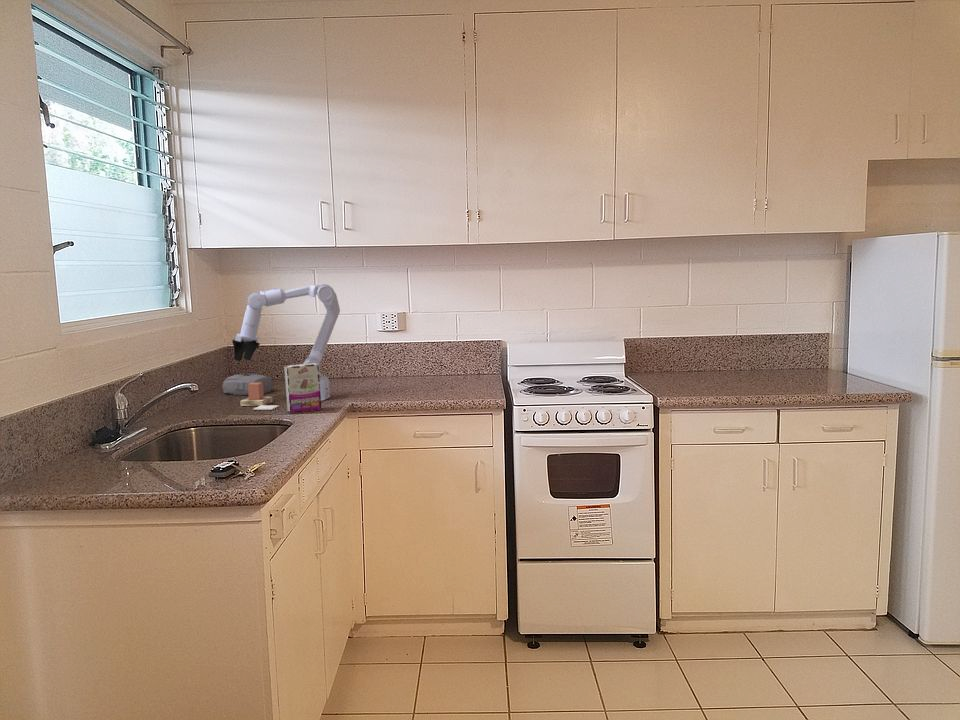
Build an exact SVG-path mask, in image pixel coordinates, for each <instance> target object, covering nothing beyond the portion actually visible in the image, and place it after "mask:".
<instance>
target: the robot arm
mask: <svg viewBox="0 0 960 720" xmlns="http://www.w3.org/2000/svg"><path fill="white" fill-rule="evenodd" d="M305 296H310V297H313V298H316V297H317V298H318V299H319V300H320V302H322V304H323V306H324V308H325V309H326V310H325V311H326V313H325V314H324V315H325V316H324V318H323V321H322V323H321V326H320V327H319V331H318V333H317V336H316V338H315V341H314V343H313V346H312V348H311V351H310V353H309V355H308V357H307V358H306V359H305V360H304V361H303V363H302V364H309V363H317V364H318V366H319V380H320V394H321V402H322V401H326V400H327V399H329V398H331V395H330V393H331V392H330V380H329V377H328V376H326V375H325V376H324V375H323V374H322V372H320V371H321V362H322V359H323V355H324V353H325V350H326V348H327V345H328V343H329V341H330V338H331V336H332V332H333V330H334V328H335V326H336V322H337V321H338V318H339V315H340V311H341V309H340V304H339V300H338V296H337V293H336V292H335V290H334V288H333V287H332V286H331V285H329V284H327V283H324V284H321V285H320V284H311V285H304V286H300V287H297V288H295V287H294V288H292V289H287V290H284V289H282V288H281V287H272V289H270V290H269V289H268V290H260V291H259V292H254V293H251V294H250V295H249V296H248V298H247V305H246V310H245V312H244V316H243V319H242V320H243V321H242V323H241V324H242V325H241V329H240V333H239V332H238V333H236V335H235V339H232V345H233V350H234V352H233V354H234V355H233V356H234V361H237V362H238V361H239V362H241V361H242V359H244V360H246V361H251V359H252V356H253V355H254V352H255V351H256V350H257V349H258V348H259V347H260V344H261V343H260V342H258V341H259V339H260V338H259V336H257V334H258V330H259V325H260V321H261V318H262V310H263V308H264V307H270V306H271V307H272V306H276V305H282V304H284V303H285V302H286V300H289V299H293V298H298V297H299V298H301V297H305Z"/></svg>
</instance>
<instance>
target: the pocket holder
mask: <svg viewBox="0 0 960 720" xmlns="http://www.w3.org/2000/svg"><path fill="white" fill-rule="evenodd" d="M239 401H240V403H239V404H240V405H239V406H240V407H241V406H261V405H267V404H268V405H270V404H272V403H273V396H264V398H263V399H261V400H249V397H246V398H244V399H241V400H239ZM271 402H272V403H271ZM269 403H270V404H269Z"/></svg>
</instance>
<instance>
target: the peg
mask: <svg viewBox="0 0 960 720" xmlns="http://www.w3.org/2000/svg"><path fill="white" fill-rule="evenodd" d="M264 395H265V394H264V393H263V383H250V384H248V398H249V400H261V399H263V398H264V397H265V396H264Z"/></svg>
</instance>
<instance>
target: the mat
mask: <svg viewBox="0 0 960 720" xmlns="http://www.w3.org/2000/svg"><path fill="white" fill-rule="evenodd" d="M277 407H278V408H280V405H279V404H278V405H272V404H271V405H270V404H268V405H261V406H258V407H253V409H252V411H253V410H272V411H274V410H276V409H278V408H277ZM275 408H276V409H275ZM273 409H274V410H273Z"/></svg>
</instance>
